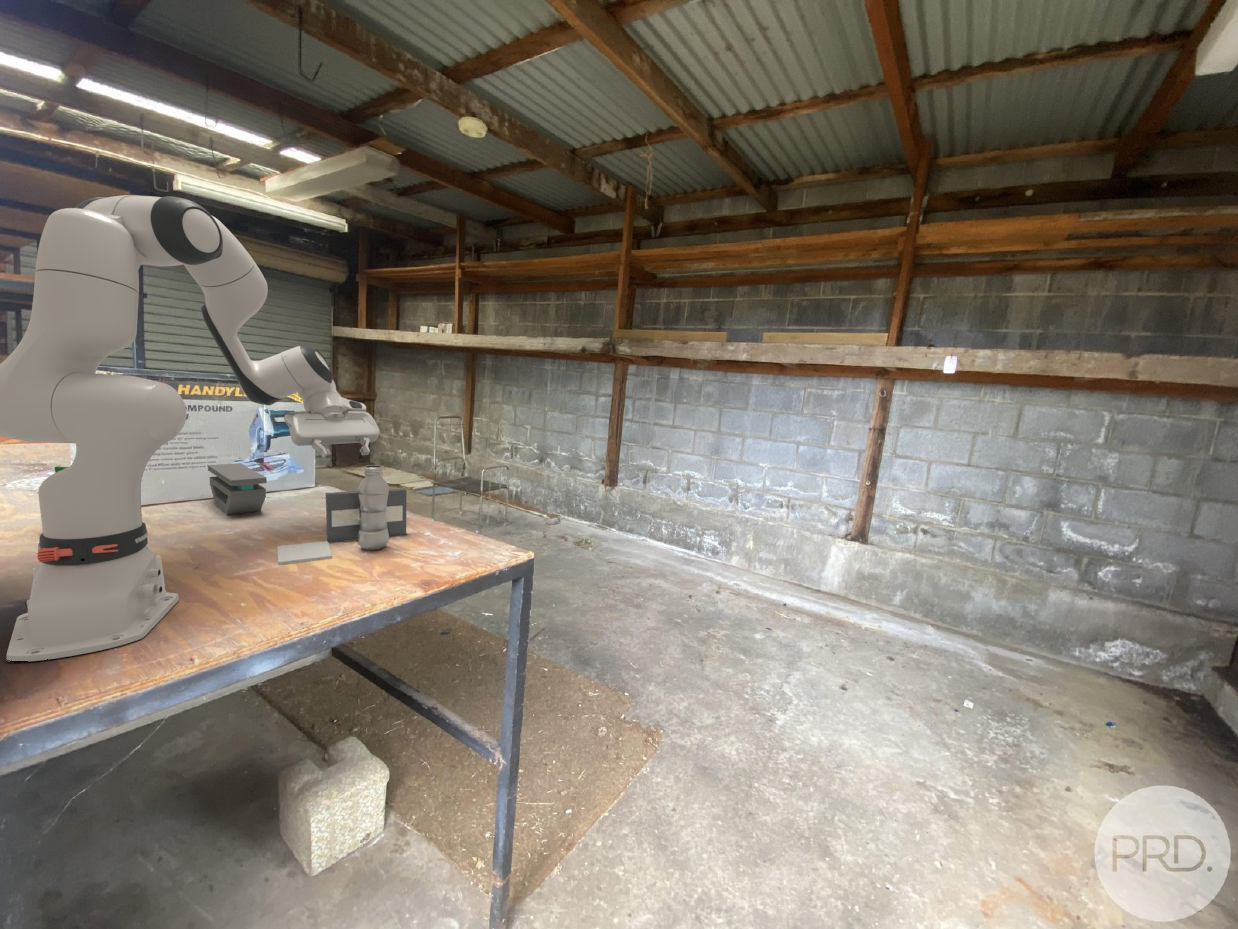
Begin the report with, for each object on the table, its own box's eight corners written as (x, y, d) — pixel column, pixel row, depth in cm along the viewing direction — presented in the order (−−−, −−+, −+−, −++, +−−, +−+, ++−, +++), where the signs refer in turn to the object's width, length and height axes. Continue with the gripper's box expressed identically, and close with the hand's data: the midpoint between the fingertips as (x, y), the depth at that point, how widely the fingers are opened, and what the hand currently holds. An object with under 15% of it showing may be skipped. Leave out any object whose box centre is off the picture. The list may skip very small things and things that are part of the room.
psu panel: (406, 534, 131) (406, 490, 129) (327, 543, 121) (326, 495, 119) (404, 532, 133) (404, 488, 131) (326, 540, 123) (325, 492, 121)
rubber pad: (332, 558, 112) (332, 555, 112) (278, 564, 106) (278, 562, 106) (327, 543, 121) (327, 541, 121) (277, 548, 115) (277, 546, 115)
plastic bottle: (358, 545, 121) (357, 464, 118) (389, 543, 124) (388, 464, 121) (357, 554, 116) (356, 469, 112) (389, 551, 118) (389, 468, 115)
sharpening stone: (210, 501, 148) (207, 465, 147) (242, 497, 154) (240, 463, 153) (233, 520, 133) (231, 480, 131) (268, 515, 139) (266, 477, 137)
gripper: (285, 403, 117) (305, 450, 113) (370, 403, 134) (391, 444, 130) (277, 420, 120) (297, 466, 116) (362, 418, 137) (381, 459, 133)
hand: (347, 455), depth 123 cm, fingers open, 8 cm apart
